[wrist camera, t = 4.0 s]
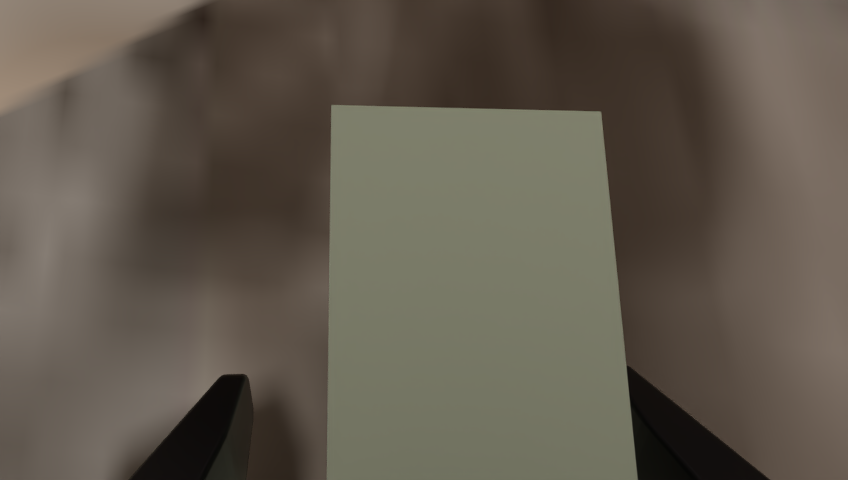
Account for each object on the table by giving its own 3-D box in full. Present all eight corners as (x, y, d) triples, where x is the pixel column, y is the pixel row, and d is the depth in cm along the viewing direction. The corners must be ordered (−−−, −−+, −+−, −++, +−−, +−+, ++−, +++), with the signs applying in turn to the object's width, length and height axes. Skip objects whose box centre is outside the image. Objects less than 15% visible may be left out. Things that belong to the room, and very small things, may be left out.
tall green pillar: (460, 520, 15) (675, 868, 5) (351, 526, 15) (321, 913, 4) (451, 270, 17) (600, 112, 6) (352, 271, 17) (331, 105, 6)
